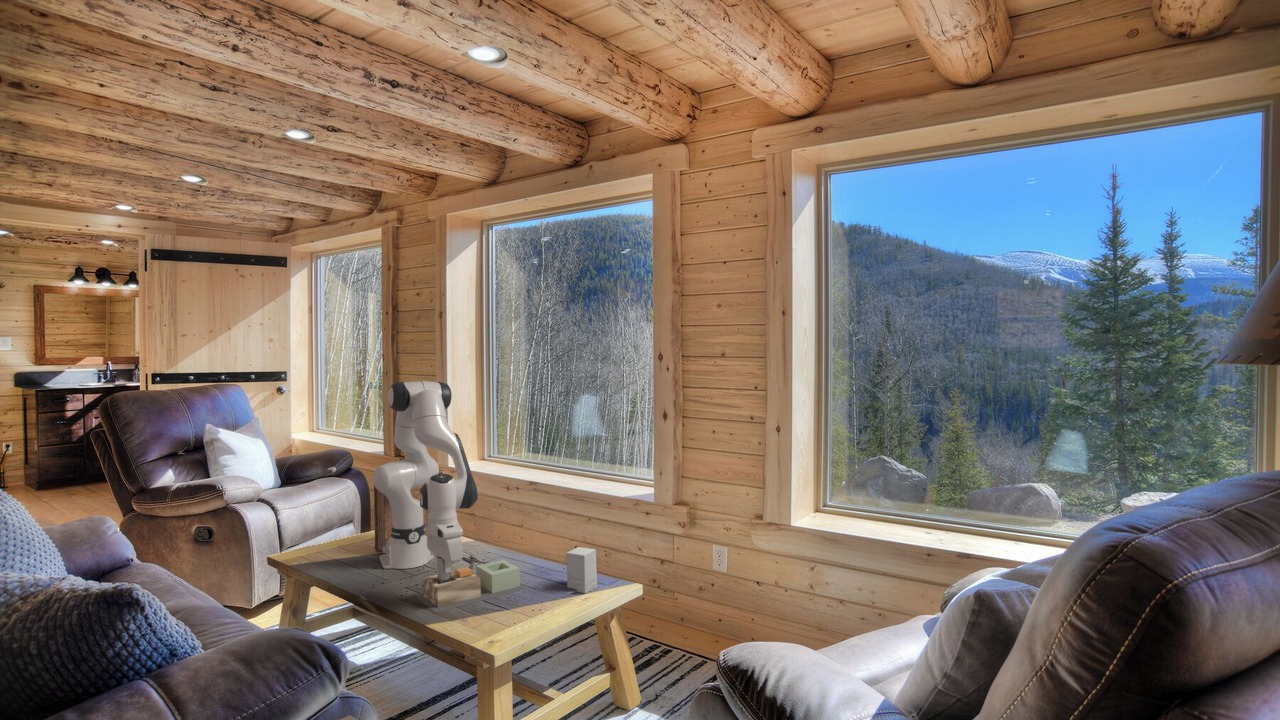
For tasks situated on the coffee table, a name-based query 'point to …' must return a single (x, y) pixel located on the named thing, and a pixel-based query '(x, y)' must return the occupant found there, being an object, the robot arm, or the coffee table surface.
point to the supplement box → (581, 569)
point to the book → (390, 516)
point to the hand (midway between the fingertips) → (444, 569)
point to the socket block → (451, 589)
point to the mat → (484, 595)
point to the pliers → (472, 561)
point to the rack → (498, 576)
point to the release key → (463, 572)
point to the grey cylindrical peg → (442, 572)
